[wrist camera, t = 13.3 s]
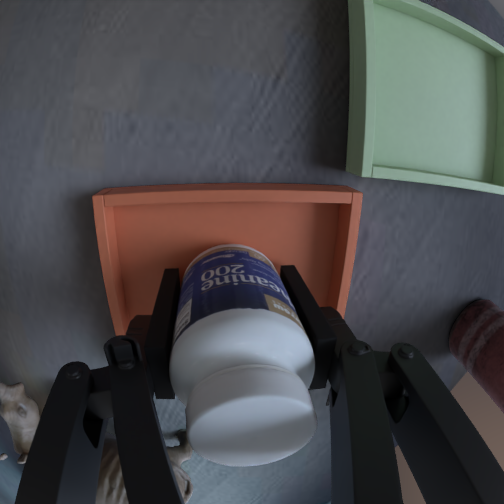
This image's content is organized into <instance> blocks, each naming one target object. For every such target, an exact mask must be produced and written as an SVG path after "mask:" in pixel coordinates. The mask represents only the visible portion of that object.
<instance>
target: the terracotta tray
mask: <svg viewBox="0 0 504 504" xmlns="http://www.w3.org/2000/svg"><path fill="white" fill-rule="evenodd" d="M362 196H363V193H362V192H360V191H357V190H355V189H353V188H351V187H348V186H340V185H318V184H286V183H203V184H170V185H148V186H131V187H116V188H105V189H103V190H101V191H100V192H98V193H96V194H95V195H93V196H92V200H93V210H94V219H95V227H96V235H97V242H98V249H99V255H100V261H101V267H102V273H103V279H104V284H105V289H106V294H107V299H108V304H109V308H110V313H111V317H112V321H113V325H114V330H115V334H116V336H119V335H126V331H127V329H128V326H129V323H130V321H131V320H132V319H133V318H134V317H135V316H136V315H152V313H153V309H154V305H155V301H156V298H157V294H158V291H159V287H160V283H161V280H162V276H163V273H164V270H165V269H169V268H179V276H180V287H181V284H182V280H183V276H184V274H185V271H186V269H187V267H188V266H189V265H190V263H191V262H192V261H193V260H194V259H195V258H196V257H197V256H198V255H199V254H201V253H202V252H204V251H206V250H208V249H209V248H212V247H215V246H218V245H226V244H240V245H245V246H248V247H251V248H253V249H255V250H257V251H259V252H261V253H262V254H264V255H265V256H266V257H267V258H268V259H269V260H270V261H271V263H272V264H273V265H274V267H275V269H276V271H277V272H278V274H279V276H280V267H281V265H295V267H296V269H297V270H298V272H299V274H300V275H301V277H302V279H303V280H304V282H305V284H306V285H307V287H308V289H309V290H310V292H311V294H312V295H313V297H314V299H315V300H316V302H317V304H318V305H319V307H327V306H331V307H332V308H334V309H335V310H337V311H338V312H339V313H340V315H341V316H342V318H343V319H344V314H345V309H346V304H347V299H348V293H349V288H350V282H351V276H352V270H353V264H354V258H355V251H356V244H357V237H358V230H359V222H360V214H361V206H362Z"/></svg>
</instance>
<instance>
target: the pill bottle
mask: <svg viewBox="0 0 504 504" xmlns="http://www.w3.org/2000/svg"><path fill="white" fill-rule="evenodd" d="M314 371H315V358H314V353H313V349H312V346H311V343H310V341H309V339H308V337H307V335H306V332H305V330H304V328H303V326H302V324H301V322H300V320H299V317H298V315H297V313H296V310H295V307H294V306H293V304H292V302H291V300H290V298H289V296H288V293H287V291H286V289H285V287H284V285H283V283H282V281H281V279H280V276H279V274H278V272H277V271H276V269H275V267H274V265H273V264H272V263H271V261H270V260H269V259H268V258H267V257H266V256H265V255H264V254H262V253H261V252H259V251H257V250H255V249H253V248H251V247H248V246H245V245H240V244H226V245H218V246H215V247H212V248H209V249H208V250H206V251H204V252H202V253H201V254H199V255H198V256H197V257H196V258H195V259H194V260H193V261H192V262H191V263H190V265H189V266H188V267H187V269H186V271H185V274H184V276H183V280H182V284H181V287H180V293H179V299H178V305H177V311H176V318H175V324H174V332H173V338H172V346H171V353H170V360H169V376H170V381H171V385H172V387H173V390H174V392H175V394H176V395H177V397H178V398H179V400H180V401H181V402H182V403H183V404H184V405H185V406H186V409H185V414H186V428H187V439H188V442H189V444H190V446H191V448H192V449H193V450H194V451H195V452H196V453H197V454H198V455H200V456H201V457H203V458H205V459H207V460H209V461H212V462H215V463H218V464H223V465H227V466H256V465H262V464H267V463H271V462H274V461H278V460H280V459H283V458H285V457H287V456H289V455H291V454H293V453H295V452H296V451H298V450H299V449H301V448H302V447H303V446H305V445H306V444H307V443H308V442H309V441H310V440H311V438H312V437H313V435H314V434H315V431H316V428H317V416H316V413H315V410H314V407H313V403H312V400H311V397H310V393H309V391H308V388H309V386H310V384H311V382H312V379H313V376H314Z"/></svg>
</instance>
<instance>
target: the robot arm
mask: <svg viewBox="0 0 504 504" xmlns="http://www.w3.org/2000/svg"><path fill="white" fill-rule="evenodd" d="M280 279H281V281H282V283H283V285H284V287H285V289H286V291H287V293H288V296H289V298H290V300H291V302H292V304H293V306H294V307H295V310H296V313H297V315H298V317H299V320H300V322H301V324H302V326H303V328H304V330H305V332H306V335H307V337H308V339H309V341H310V343H311V346H312V349H313V353H314V358H315V371H314V376H313V379H312V382H311V384H310V386H309V388H308V390H314V389H321V388H325V387H326V383H327V379H328V380H329V382H330V384H331V388H330V392H329V395H328V399H327V402H326V406H328V405H329V402H330V426H331V504H403V500H402V493H401V485H400V479H399V472H398V466H397V460H396V454H395V448H394V443H393V437H392V433H393V435H394V437H395V439H396V441H397V443H398V445H399V447H400V449H401V451H402V453H403V455H404V457H405V459H406V461H407V463H408V465H409V468H410V470H411V472H412V474H413V476H414V478H415V480H416V482H417V485H418V487H419V489H420V491H421V493H422V495H423V497H424V499H425V502H426V504H504V471H503V470H502V468H501V467H500V465H499V463H498V462H497V460H496V459H495V457H494V455H493V454H492V452H491V451H490V449H489V448H488V446H487V445H486V443H485V442H484V440H483V439H482V437H481V435H480V434H479V432H478V431H477V430H476V428H475V427H474V425H473V424H472V422H471V421H470V419H469V418H468V416H467V415H466V414H465V412H464V411H463V409H462V408H461V406H460V405H459V404H458V402H457V401H456V399H454V397H453V396H452V394H451V393H450V391H449V390H448V388H447V387H446V386H445V384H444V383H443V382H442V380H441V379H440V378H439V376H438V375H437V374H436V372H435V371H434V370H433V368H432V367H431V366H430V364H429V363H428V362H427V360H426V359H425V358H424V357H423V355H422V354H421V353H420V351H419V350H418V349H417V348H416V347H414V346H412V345H410V344H407V343H398V344H395V345H394V346H393V347H392V348H391V351H390V352H377V351H373V350H372V348H371V346H369V345H368V344H367V343H365V342H363V341H359V340H357V339H356V337H355V336H354V334H353V333H352V331H351V330H350V328H349V327H348V325H347V324H346V322H345V321H344V319H343V318H342V316H341V315H340V313H339V312H338V311H337V310H335V309H334V308H332V307H331V306H327V307H319V305H318V304H317V302H316V300H315V299H314V297H313V295H312V294H311V292H310V290H309V289H308V287H307V285H306V284H305V282H304V280H303V279H302V277H301V275H300V274H299V272H298V270H297V269H296V267H295V265H281V267H280ZM179 293H180V276H179V268H169V269H165V270H164V273H163V276H162V280H161V283H160V287H159V291H158V294H157V298H156V301H155V305H154V309H153V313H152V315H136V316H135V317H134V318H133V319H132V320H131V321H130V323H129V326H128V329H127V331H126V335H119V336H115V337H113V338H111V339H109V340H108V341H107V342H106V343H105V345H104V351H105V355H106V358H107V361H108V364H109V365H108V366H106V367H103V368H98V369H93V370H90V369H89V367H88V365H86V364H85V363H83V362H79V361H77V362H70V363H68V364H66V365H64V366H63V367H62V368H61V369H60V371H59V372H58V375H57V377H56V379H55V382H54V384H53V387H52V389H51V392H50V394H49V397H48V399H47V402H46V404H45V407H44V409H43V412H42V415H41V417H40V420H39V423H38V426H37V429H36V432H35V434H34V437H33V440H32V443H31V447H30V450H29V453H28V456H27V459H26V463H25V466H24V470H23V473H22V477H21V480H20V484H19V488H18V492H17V496H16V501H15V504H95V502H96V493H97V485H98V477H99V470H100V464H101V457H102V451H103V445H104V439H105V434H106V428H107V423H108V418H112V417H113V418H114V426H115V434H116V441H117V447H118V453H119V459H120V465H121V470H122V476H123V481H124V485H125V490H126V495H127V499H128V503H129V504H185V502H184V500H183V497H182V494H181V491H180V489H179V486H178V483H177V480H176V477H175V474H174V471H173V468H172V465H171V462H170V458H169V455H168V452H167V449H166V445H165V442H164V438H163V435H162V431H161V427H160V424H159V420H158V416H157V412H156V408H155V404H154V401H153V395H154V392H155V396H156V399H175V392H174V390H173V387H172V385H171V381H170V376H169V360H170V353H171V346H172V338H173V332H174V324H175V318H176V311H177V305H178V299H179ZM391 431H392V432H391Z"/></svg>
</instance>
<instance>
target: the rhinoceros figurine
mask: <svg viewBox="0 0 504 504" xmlns="http://www.w3.org/2000/svg"><path fill="white" fill-rule="evenodd" d="M0 400H1V409H0V414H1V416H2V417H3V418H4V419H5V420H6V422H7V424H8V426H9V429H10V431H11V435H12V438H13V443H14V449H15V451H16V452H17V453H19V454H21V456H20V457H19V458H18V460H17V462H18V463H21V464H23V463H26V459H27V456H28V453H29V450H30V447H31V443H32V440H33V437H34V434H35V432H36V429H37V426H38V423H39V420H40V416H39V411H38V405H37V404H36V402H35V401H34V400H33V399H32V398H30V397H29V396H28V395H27V394H26V393H25V390H24V385H23V383H21V382H20V383H17V384H14V385H6V384H4V383H2V382H0ZM177 435H178V437H177V436H176V435H175V436H176V438H178V440H179V442H180V445H179V446H174V447H168V446H166V449H167V452H168V455H169V458H170V462H171V465H172V468H173V471H174V474H175V477H176V480H177V483H178V486H179V489H180V491H181V494H182V497H183V500H184V502H185V503H187V502H188V501H189V499H190V497H191V495H192V492H193V485H192V483H191V480H190V477H189V476H188V474H187V473H186V472H185V471H184V470H183V469H181V467H180V466H181V463H182V462H183V461H185V460H189V459H190V458H191V455H192V450H193V449H192V448H191V446H190V444H189V442H188V439H187V430H185V429H184V430H181V431H178V434H177ZM7 457H8V456H7V455H6V454H4V453H3V454H1V455H0V460H4V459H5V458H7ZM95 504H129V503H128V499H127V495H126V490H125V485H124V481H123V476H122V470H121V465H120V459H119V453H118V447H117V441H116V436H115V435H112V434H110V433H108V432H106V434H105V439H104V445H103V451H102V457H101V464H100V470H99V477H98V485H97V493H96V502H95Z"/></svg>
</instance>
